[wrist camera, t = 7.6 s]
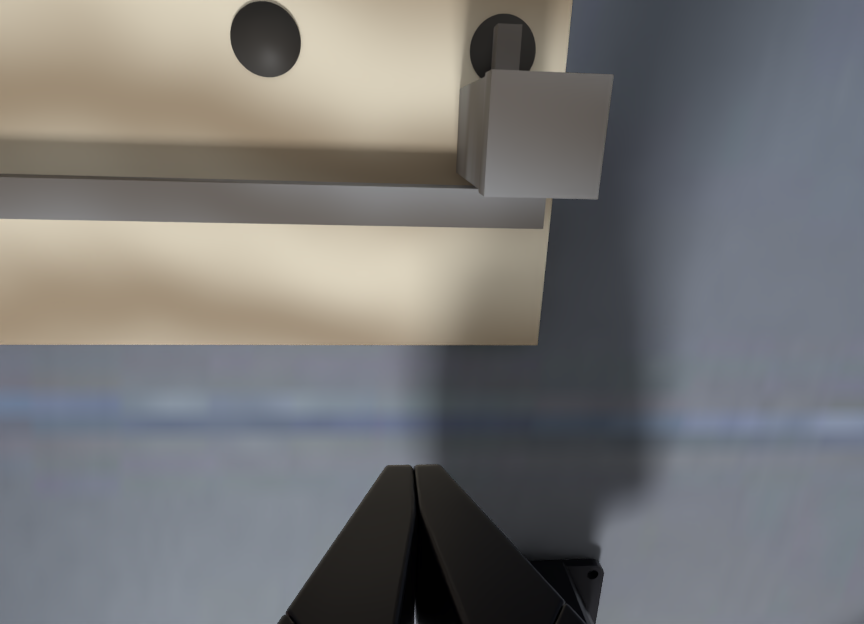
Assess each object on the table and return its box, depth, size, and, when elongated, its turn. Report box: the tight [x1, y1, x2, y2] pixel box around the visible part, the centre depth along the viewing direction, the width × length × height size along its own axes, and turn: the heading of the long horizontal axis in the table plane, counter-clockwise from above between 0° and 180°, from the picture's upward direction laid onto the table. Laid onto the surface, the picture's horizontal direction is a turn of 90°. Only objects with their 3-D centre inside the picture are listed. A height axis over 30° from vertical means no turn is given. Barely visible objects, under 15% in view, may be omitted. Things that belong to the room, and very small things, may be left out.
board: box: [0, 0, 614, 345], centre depth 14 cm, size 14×25×7 cm, turn 88°
